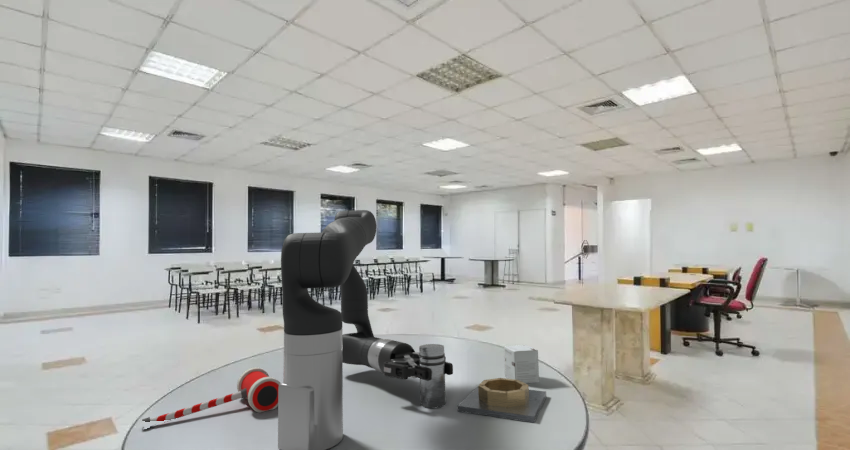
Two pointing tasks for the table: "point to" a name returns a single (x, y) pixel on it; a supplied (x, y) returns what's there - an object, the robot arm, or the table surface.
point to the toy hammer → (238, 395)
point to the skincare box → (521, 363)
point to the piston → (433, 376)
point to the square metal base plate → (504, 400)
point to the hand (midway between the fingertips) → (441, 372)
